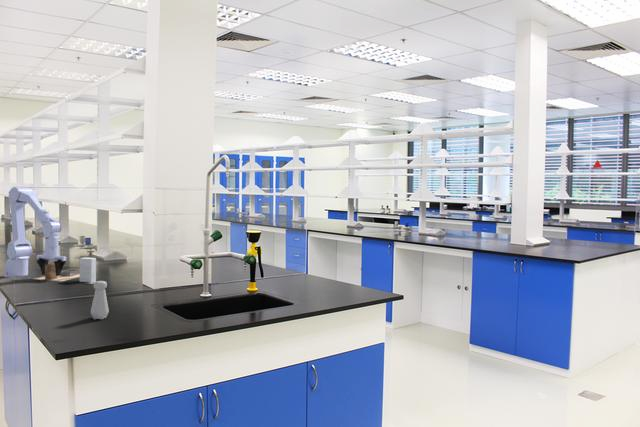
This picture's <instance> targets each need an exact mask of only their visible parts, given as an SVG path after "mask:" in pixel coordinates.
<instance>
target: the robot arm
mask: <svg viewBox="0 0 640 427" xmlns="http://www.w3.org/2000/svg"><path fill="white" fill-rule="evenodd" d="M8 202H9V206H10V207H9V208H10V209H9V210H10V219H11V230H12V231H11V232H12V239H11V241H10V242H8V243H7V250H6V255H7V257H8V259H7V260H6V261H5V265H4V272H5V273H4V275H3V277H4V278H13V277H25V276H28V275H29V259H30V257H31V256H32V255H33V248H32V244H31V241H30V240H28V239H27V238H26V229H25V217H24V207H25V205H29V206H30V207H31V208H32V210H33V211H34V212H35V213H36V214H35V217H36V219H37V220H38V222H39V223H40V224H41V230H42V233H43V237H44V254H36V259H37V260H36V262H37V264H38V266H39V269H40V271H41V275H42V276H45V265H47V264H49V261H50V260H51V261H53V264H55V269H56V276H59V275H60V274H61V271H63V268H64V266H65V264H66V262H67V256H64V255H59V244H60V242H59V239H60V238H59V236H60V233H61V232H62V229H63V226H62V223H61V221H58V220H57V219H55V218H54V217H53V215H52V214H51V213H50V212H49V210H48V209H46V208H45V209H44V208H43V206H42V205H41V203H40V201H39V200H38V198H37V192H36V190H35V189H34V188H33V187H31V186H30V187H19V186H18V187H17V186H13V187H11V188H10V189H9V191H8Z"/></svg>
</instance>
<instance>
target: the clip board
mask: <svg viewBox="0 0 640 427" xmlns="http://www.w3.org/2000/svg"><path fill="white" fill-rule="evenodd" d="M79 277H80V269H75V268H69V269H64V270H63V269H62V271H61V274H60V275H59V276H57V279H53V280H49V281H54V282H65V281H69V280H73V279H77V278H78V279H79ZM33 280H40V281H46V280H45V275H42V276H39V277H35V278H33Z"/></svg>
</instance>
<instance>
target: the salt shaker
mask: <svg viewBox="0 0 640 427" xmlns="http://www.w3.org/2000/svg"><path fill="white" fill-rule="evenodd" d="M107 286H108V283H107V281H104V280H96V282H94V283H93V289H94V295H93V299H92V304H91V308H90V314H91V316H92V319H93V320H96V319H100V320H104V318H105V319H107V316H108V314H109V312H110V311H109V310H110V309H109V305H108V300H107V293H106V288H108V287H107Z"/></svg>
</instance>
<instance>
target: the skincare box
mask: <svg viewBox="0 0 640 427" xmlns="http://www.w3.org/2000/svg"><path fill="white" fill-rule="evenodd" d="M79 270H80V277H78V280H79V283H80V282H82V284H84V285H92V284H93V285H94V282H96V281H97V258H96V257H80V258H79Z"/></svg>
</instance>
